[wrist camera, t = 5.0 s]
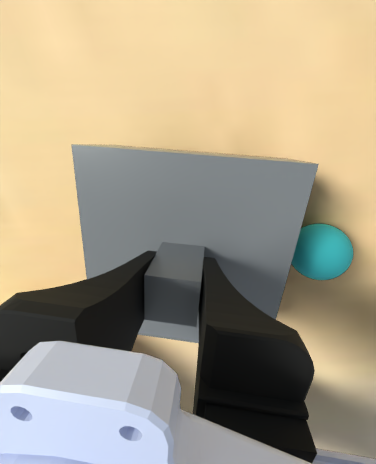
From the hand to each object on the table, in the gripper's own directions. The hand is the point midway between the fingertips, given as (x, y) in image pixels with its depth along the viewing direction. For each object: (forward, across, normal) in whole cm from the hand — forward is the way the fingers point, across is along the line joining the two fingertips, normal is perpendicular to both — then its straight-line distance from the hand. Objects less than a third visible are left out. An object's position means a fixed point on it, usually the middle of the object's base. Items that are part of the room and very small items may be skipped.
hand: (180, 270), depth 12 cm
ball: (+5, -9, 0) cm, 10 cm away
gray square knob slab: (+6, 0, 0) cm, 6 cm away
